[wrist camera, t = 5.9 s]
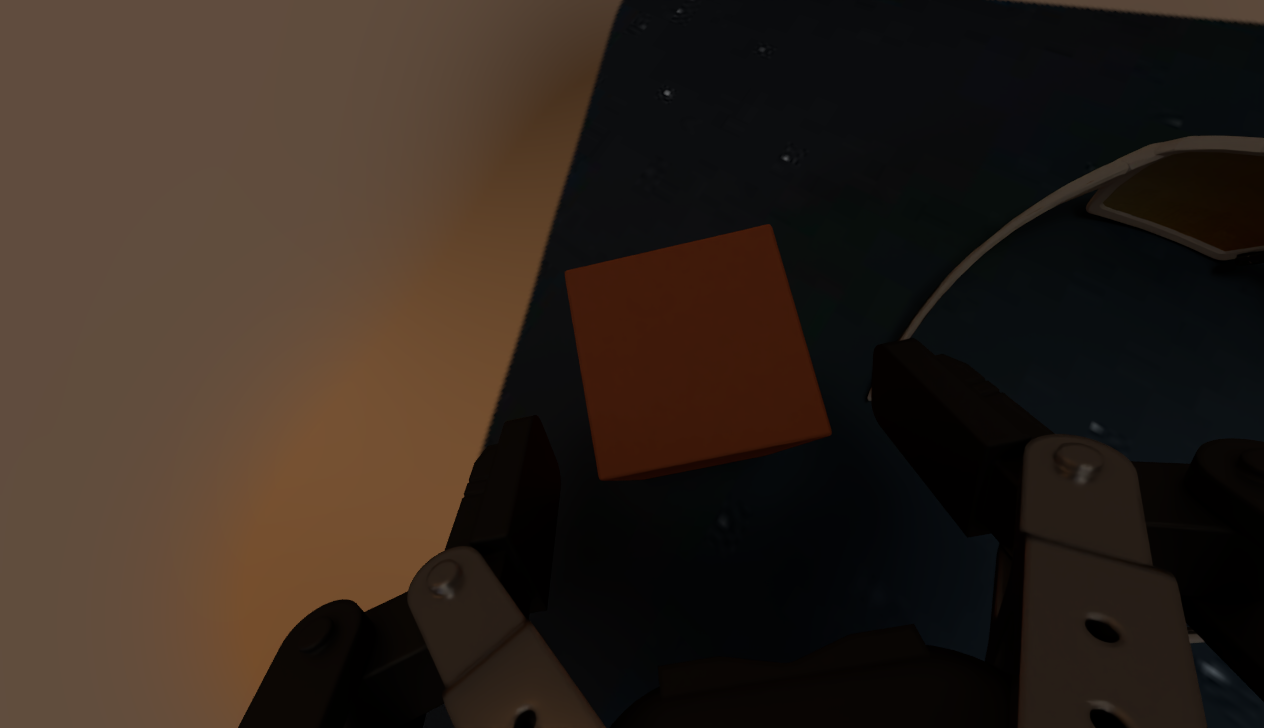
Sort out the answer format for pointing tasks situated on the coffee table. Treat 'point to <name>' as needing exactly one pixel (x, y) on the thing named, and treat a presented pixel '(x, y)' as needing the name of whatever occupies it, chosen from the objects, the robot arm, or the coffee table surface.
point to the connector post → (693, 357)
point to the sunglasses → (1164, 204)
